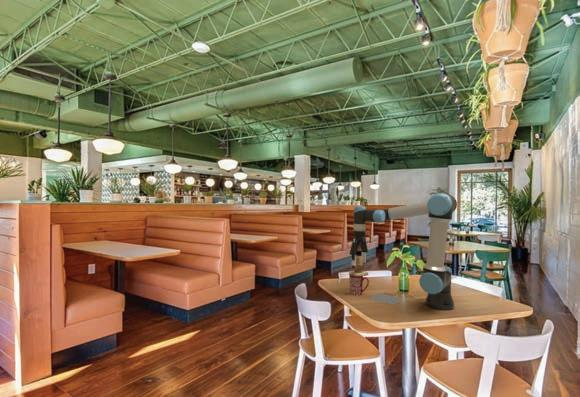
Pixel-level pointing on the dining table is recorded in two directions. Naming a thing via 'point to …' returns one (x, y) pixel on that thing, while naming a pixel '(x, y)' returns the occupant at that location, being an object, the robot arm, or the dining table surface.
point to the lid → (358, 268)
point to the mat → (386, 298)
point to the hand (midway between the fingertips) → (358, 264)
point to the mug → (356, 284)
